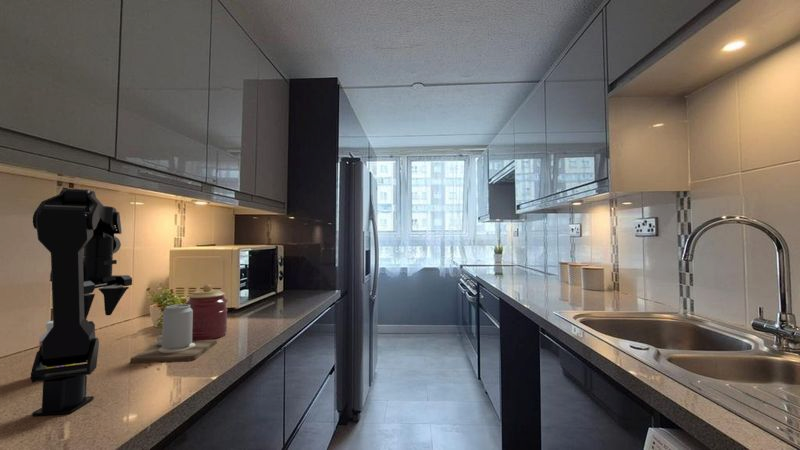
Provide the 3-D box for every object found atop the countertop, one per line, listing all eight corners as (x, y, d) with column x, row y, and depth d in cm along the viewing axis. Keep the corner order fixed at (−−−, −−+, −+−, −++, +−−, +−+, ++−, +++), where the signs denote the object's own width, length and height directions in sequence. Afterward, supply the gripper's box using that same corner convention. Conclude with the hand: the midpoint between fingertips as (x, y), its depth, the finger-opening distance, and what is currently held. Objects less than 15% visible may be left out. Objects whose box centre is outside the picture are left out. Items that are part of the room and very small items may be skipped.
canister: (200, 343, 112) (201, 287, 113) (175, 338, 117) (176, 285, 118) (235, 333, 123) (236, 283, 124) (210, 329, 129) (212, 281, 130)
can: (185, 349, 99) (186, 307, 100) (156, 351, 98) (157, 308, 99) (196, 342, 107) (197, 302, 107) (169, 343, 106) (170, 303, 106)
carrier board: (194, 359, 96) (194, 349, 96) (130, 362, 93) (130, 352, 94) (217, 342, 112) (217, 334, 112) (163, 345, 110) (163, 336, 110)
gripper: (90, 255, 96) (87, 312, 96) (28, 258, 78) (24, 329, 77) (134, 255, 98) (132, 311, 97) (83, 258, 79) (80, 327, 79)
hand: (95, 319), depth 87 cm, fingers open, 9 cm apart
